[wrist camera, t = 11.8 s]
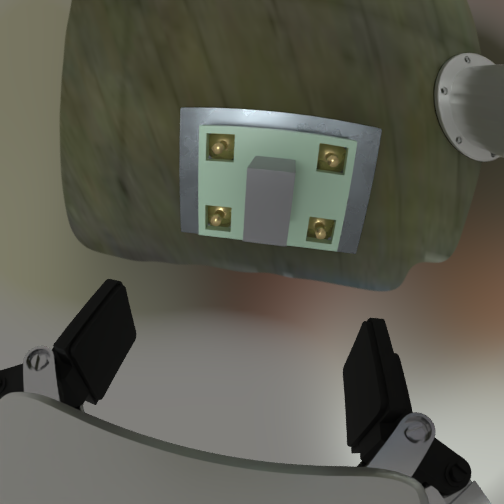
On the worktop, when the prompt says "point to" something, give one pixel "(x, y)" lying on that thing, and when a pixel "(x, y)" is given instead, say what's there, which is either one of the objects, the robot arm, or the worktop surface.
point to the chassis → (328, 154)
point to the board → (306, 183)
